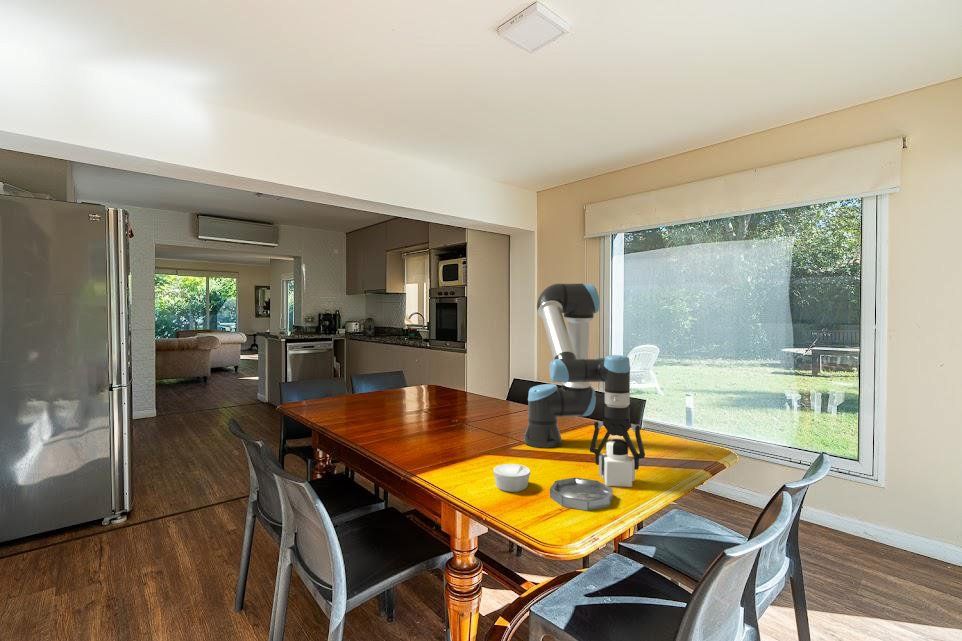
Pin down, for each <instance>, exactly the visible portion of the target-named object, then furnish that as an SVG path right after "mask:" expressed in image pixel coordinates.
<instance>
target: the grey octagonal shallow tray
mask: <svg viewBox="0 0 962 641" xmlns="http://www.w3.org/2000/svg"><path fill="white" fill-rule="evenodd" d="M613 493H614V491H613V488H611V486H607V485H606V484H605V483H603V482H602V481H599V480H596V479H590V478H589V479H587V478H580V477H569V478H564V479H558V480H555V481H554V482H553V483H552V485H551V486H550V488H549V498H550V499H552V500H553V501H554V502H556V503H557V504H558V505H560V506H561V507H563V508H570V509H575V510H576V509H577V510H581V511H593V510H594V511H595V510H599V509H604V508H605V509H606V508H610V506H611V503H612V501H613V498H614V496H613Z"/></svg>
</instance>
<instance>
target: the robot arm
mask: <svg viewBox="0 0 962 641" xmlns="http://www.w3.org/2000/svg"><path fill="white" fill-rule="evenodd" d="M536 310H537V314H538V317H539V318H540V319H542V322H543V326H544V330H545V333H546V337H547V341H548V345H549V348H550V352H551V355H552V360H551V361H550V363H549V365H548V366H549V377H550V379H551V381H552V382H553V383H554V384H553V383H549V384H548V383H546V384H538V385H535V386H532V387H530V388H529V390H528V397H527V401H528V405H527V406H528V410H527V411H528V415H527V416H528V423H527V427H526V431H525V433H524V436H523V441H524V442H525V443H526V444H525V443H524V444H525V445H527V444H528V445H527V446H529V445H530V446H529V447H533V446H534V448H539V447H541V449H543V448H544V449H546V448H547V449H548V448H549V447H551V448H555V447H556V446H557V447H559V446H561V445H562V444H563V443H562V442H563V440H562V435H561V432H560V430H559V425H558V418H563V417H565V418H569V417H570V418H571V417H579V418H581V417H587V416H590V415H592V414H593V412H594V410H595V407H596V403H597V401H596V400H597V397H596V390H595V389H594V388H593V387H592V384H591V383H604V404H605V405H604V419H603V420H602V421H601V420H600V421H599V420H595V422H594V424H593V426H594V427H593V428H594V430H593V435H592V439H591V444H590V448H589V452H590V453H593V454H594V455H595V465H597V466H598V477H601V478H603V477H602V475H603V454H604V453H603V452H602V451H603V448H604V446H606V442H607V441H608V440H609V437H610V435H611V436H618V437H623V440H624V441H625V442H626V443H627V445H628V450H629V451H630V453H631V455H632V456H633V457H632V458H631V461H632V482H635V481H636V480H635V479H636V471H638V470H639V466H640V459H644V458H645V456H646V453H645V448H644V444H643V440H642V436H641V424H640V423H637V424H635V423H631V422H632V421H631V418H630V416H631V414H630V413H631V411H630V410H631V408H630V406H629V405H630V403H631V401H630V400H631V396H630V395H631V392H630V390H631V388H630V387H631V386H630V382H631V381H630V380H631V379H630V377H631V366H630V358H629V356H627V355H620V354H619V355H618V354H613V355H612V354H611V355H606V356H605V357H597V358H589V348H590V347H589V342H590V322H591V321H592V320H593V319H594V314H596V313H598V312H599V310H600V296H599V292H598V290H597V288H596V287H595V285H594V284H592V283H591V284H590V283H554V284H551V285H549V286H548V287H546V288H545V289H544V290H542V292H541V293H540V295H539V297H538V299H537V303H536ZM565 320H566V321H567V325H566V322H565ZM555 383H561V387H558V386H557V385H556V384H555ZM602 427H603V428H605V429H606V433H605V435H604V436H603V438H602V440H601V442H600V444H599V445H598V447H597V448H596V446H597V440H598V437H599V433H600V429H601V428H602ZM630 429H632V431H633V432H634V434H635V440H636V444H637V448H638V451H637V449H636V447H635V445H634V443H633V441H632V439H631V437H630V435H629V434H630V433H629V432H628V431H629V430H630ZM549 449H550V448H549ZM601 452H602V453H601Z"/></svg>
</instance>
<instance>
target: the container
mask: <svg viewBox="0 0 962 641" xmlns="http://www.w3.org/2000/svg"><path fill="white" fill-rule="evenodd" d="M602 454H603V475H602V477H601V478H602V479H603V481H604V484H605V485H607V486H608V487H620V488H621V487H624V488H628V487H629V488H632V487H633V481H632V459H630V457H629V447H628V445H627V443H626V441H625V439H620V438H611V439H607V441H606V443H605V453H602Z"/></svg>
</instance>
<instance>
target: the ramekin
mask: <svg viewBox="0 0 962 641" xmlns="http://www.w3.org/2000/svg"><path fill="white" fill-rule="evenodd" d="M493 474H494V481H495V486H496V487H497V488H498V490H500V491H503V492H507V493H519V492H522V491H524V490H526V489H527V488H528V485H529V480H530V475H531V469H530V468H529V467H527V466H526V465H523V464H518V463H517V464H516V463H504V464H498V465H496V466H495V467H493Z"/></svg>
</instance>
